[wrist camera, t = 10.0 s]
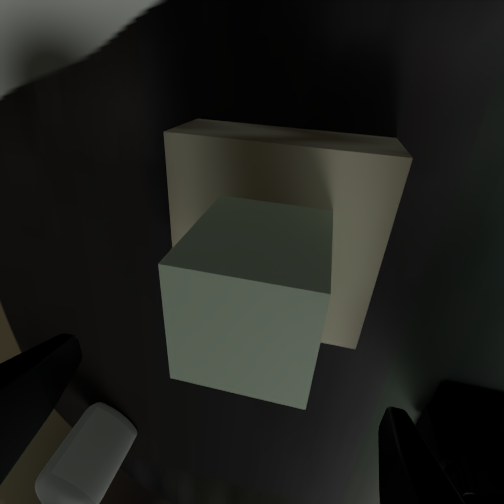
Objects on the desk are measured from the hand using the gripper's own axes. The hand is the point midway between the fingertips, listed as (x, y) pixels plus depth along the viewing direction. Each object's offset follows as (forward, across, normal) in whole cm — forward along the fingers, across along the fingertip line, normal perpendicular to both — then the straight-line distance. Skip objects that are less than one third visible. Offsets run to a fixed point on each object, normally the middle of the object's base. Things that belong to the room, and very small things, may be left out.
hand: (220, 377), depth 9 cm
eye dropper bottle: (+12, +15, +25) cm, 31 cm away
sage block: (+8, 0, 0) cm, 8 cm away
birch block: (+12, 0, 0) cm, 12 cm away
